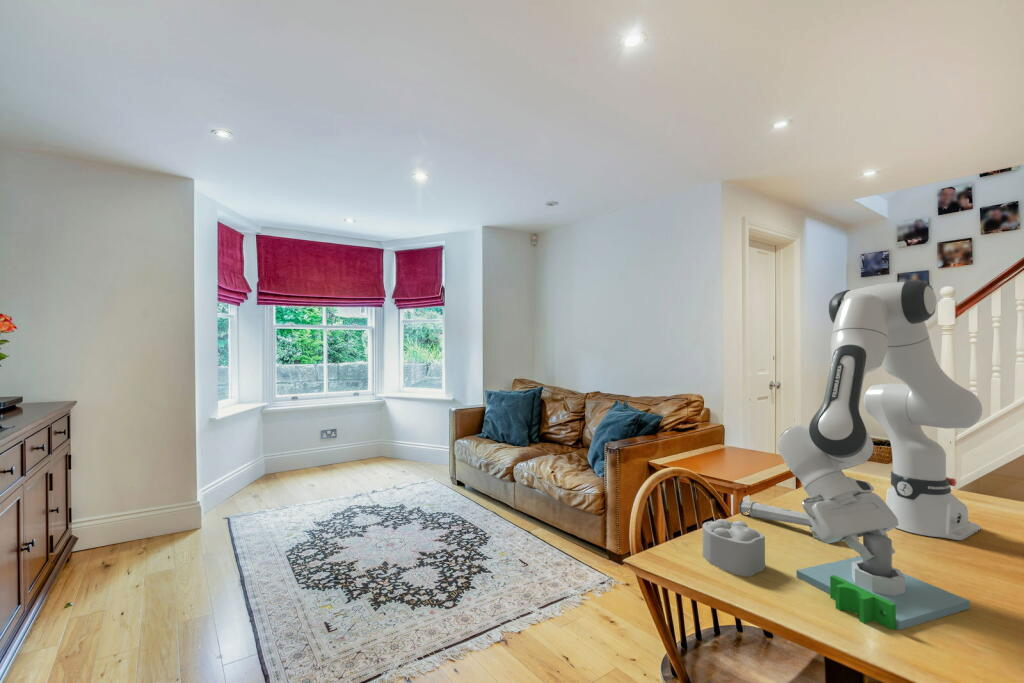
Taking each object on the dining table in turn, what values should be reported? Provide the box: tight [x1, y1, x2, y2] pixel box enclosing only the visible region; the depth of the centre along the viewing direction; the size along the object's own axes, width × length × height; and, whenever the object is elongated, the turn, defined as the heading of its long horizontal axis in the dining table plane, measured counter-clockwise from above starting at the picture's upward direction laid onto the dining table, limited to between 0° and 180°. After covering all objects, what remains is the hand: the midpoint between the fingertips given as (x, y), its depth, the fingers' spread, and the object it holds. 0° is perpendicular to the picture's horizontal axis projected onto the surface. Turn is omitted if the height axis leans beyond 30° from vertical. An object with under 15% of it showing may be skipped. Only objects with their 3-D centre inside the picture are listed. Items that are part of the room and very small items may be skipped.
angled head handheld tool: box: [738, 500, 823, 542], centre depth 129 cm, size 5×7×25 cm
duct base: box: [796, 555, 971, 631], centre depth 95 cm, size 20×20×4 cm
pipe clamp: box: [829, 575, 897, 631], centre depth 88 cm, size 11×4×5 cm, turn 19°
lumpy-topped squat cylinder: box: [702, 518, 766, 577], centre depth 109 cm, size 10×13×9 cm
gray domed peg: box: [862, 533, 893, 578], centre depth 95 cm, size 5×5×8 cm
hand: (880, 556), depth 95 cm, fingers closed on gray domed peg, 4 cm apart
